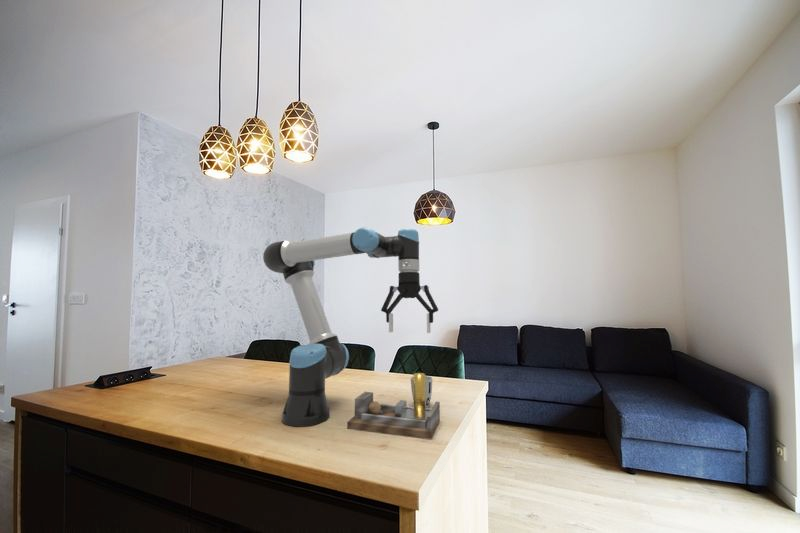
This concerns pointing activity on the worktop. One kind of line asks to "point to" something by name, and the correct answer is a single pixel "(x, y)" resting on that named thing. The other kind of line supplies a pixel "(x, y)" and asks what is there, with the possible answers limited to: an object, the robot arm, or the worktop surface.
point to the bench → (392, 419)
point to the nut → (374, 408)
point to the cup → (427, 389)
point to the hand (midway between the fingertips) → (409, 332)
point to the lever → (418, 401)
